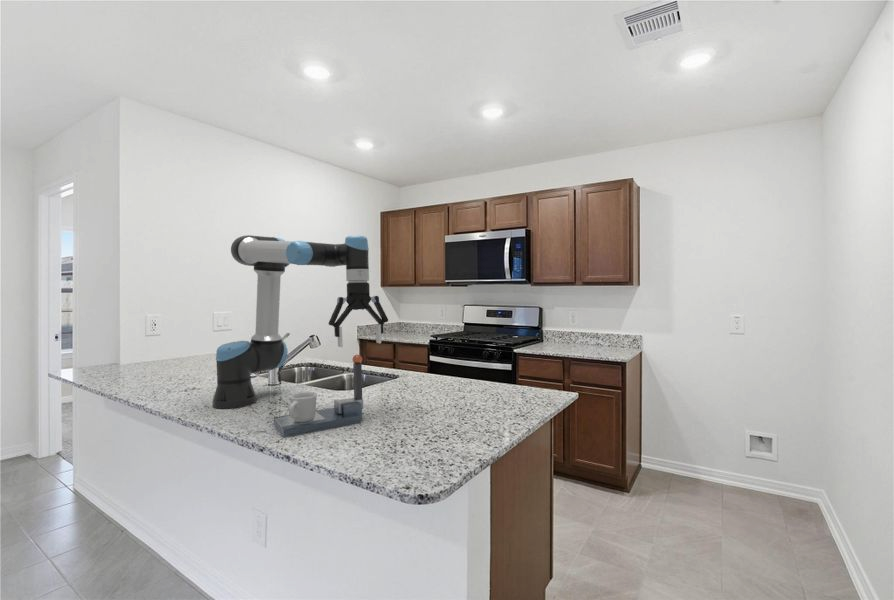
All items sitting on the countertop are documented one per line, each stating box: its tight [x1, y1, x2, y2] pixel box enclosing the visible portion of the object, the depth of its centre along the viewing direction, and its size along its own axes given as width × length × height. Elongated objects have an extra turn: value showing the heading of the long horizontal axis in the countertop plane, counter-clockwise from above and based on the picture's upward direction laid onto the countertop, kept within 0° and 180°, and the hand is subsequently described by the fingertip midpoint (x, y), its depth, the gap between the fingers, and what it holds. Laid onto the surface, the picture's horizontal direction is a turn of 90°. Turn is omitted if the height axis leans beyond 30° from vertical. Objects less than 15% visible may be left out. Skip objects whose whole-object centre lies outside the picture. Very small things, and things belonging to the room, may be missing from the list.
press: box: [273, 402, 363, 439], centre depth 143 cm, size 14×26×6 cm, turn 122°
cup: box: [288, 391, 317, 422], centre depth 136 cm, size 11×8×8 cm
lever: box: [333, 354, 364, 414], centre depth 148 cm, size 5×9×18 cm, turn 123°
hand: (359, 344), depth 149 cm, fingers open, 13 cm apart
